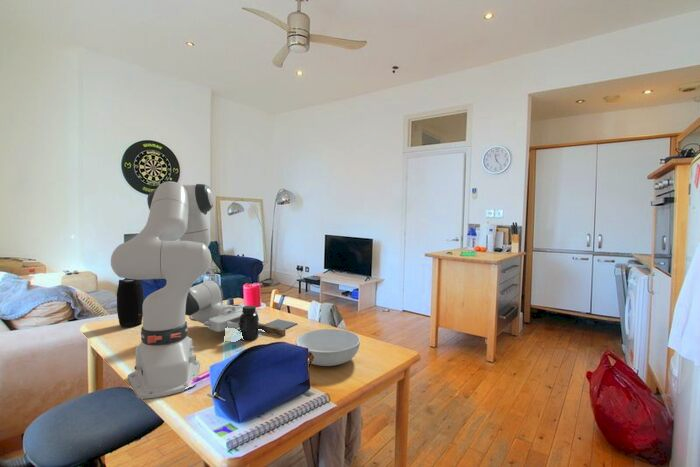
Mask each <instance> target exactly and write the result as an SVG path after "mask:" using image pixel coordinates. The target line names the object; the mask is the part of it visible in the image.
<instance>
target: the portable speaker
mask: <svg viewBox="0 0 700 467" xmlns="http://www.w3.org/2000/svg"><path fill="white" fill-rule="evenodd" d="M117 285H118V286H117V290H116V311H117V319H118V323H119V326H122V328H123V329H127V328H134V327H135V325H143V302H144V300H145V298H144V288H143V283H142V280H136V279H128V278H122V279H119V280H118V284H117Z"/></svg>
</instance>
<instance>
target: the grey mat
mask: <svg viewBox="0 0 700 467" xmlns="http://www.w3.org/2000/svg"><path fill="white" fill-rule="evenodd" d="M264 324H265V325H269V326H273V327H278V328H282V329H285V331H286V330H288V329H290V328H293V327H295V326H298V323H297V322H294V321H290V320H284V319H279V318H277V319H275V320H272V321H270V322H268V323H264Z"/></svg>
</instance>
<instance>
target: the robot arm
mask: <svg viewBox="0 0 700 467" xmlns="http://www.w3.org/2000/svg"><path fill="white" fill-rule="evenodd" d="M146 200H147V202H146V203H147V206H148V209H149V212H148V217H147V221H146V223H145V225H144V227H143V229H142V230H141V231H139V233H137V235H136V236H134V237H133V238H131V239H129V240H127V241H126V242H123V243H121V244H118V245H117V247H116V248H114V250H113V251H112V253H111V257H110V267H111V269H112V271H113V273H114V274H115V275H116V276H117V277H119V278H122V279H126V278H128V279H136V280H141V281H142V280H161V279H163V280H166V283H165V285H164V286H163V287H161V288H159V289H157V290H155V291H153V292H152V293H150V294H148V295H147V296H146V297H145V298H144V302H143V317H142V327H141V328H140V338H141V342H140V344H138V346H137V347H135V365H134V371H133V372H131V373H129V374H128V375H127V380H128V382H129V385H130V387H131V389H132V390H133V392H134V394H135V396H136V398H137V399H139V400H140V399H142V400H143V399H154V398H155V399H156V398H159V397H160V398H161V397H165V396H169V395H174V394H177V393H181V392H184V390H185V388H186V387H188V386H189V385H188V383H189V382H190V381H191V380H193V379H194V378H196V377H198V378H199V374H200V368H201V367H200V366H201V362H200V360H197V354H196V353H195V354H194V353H193V352H195V346H194V345H193V338H191V337H189V336H188V330H189V329H188V328H189V327H188V322H187V321H186V316H189V317H190V316H191V317H192V319H194V320H195V321H196V322H199V323H201V324H203V326H205V327H207V328H208V329H209V330H210V331H211V330H212V331H214V332H223V331H226V330H225V328H227V327H228V328H229V329H238V328H239V329H240V316H241V314H243V312H242V311H243V307H244V306H243V304H233V305H231V304H230V305H228V304H225V305H224V304H223V303H224V302H223V300H224V291H223V288H222V286H221V285H220V284H219V283H218V282H217V281H216V280H212V279H209V280H207V281H206V280H205V281H203V282H201V283H198V284H196V285H194V283H195V282H196V281H197V280H198V279H199V278H200V277H202V276H203V275H204V274H206V272H207V271H208V270H209V268H210V267H211V264H212V254H211V250H210V249H209V246H210V245H211V241H212V240H211V233H210V227H209V222H208V219H207V216H206V215H207V214H208V212H210V211H211V210H212V209H213V207H214V202H215V201H214V200H215V198H214V194H213V192H212V190H211V188H210V187H209V186H208V185H207V184H204V183H196V184H181V183H179V182H176V181H171V180H170V181H169V180H168V181H165V182H162V183H160V184H159V185H158V186H157V188H155V189H153V190H151V191H150V192H149V193H148V195H147V198H146ZM193 285H194V286H193ZM255 313H257V314H258V315H259V313H258V310H257V309H256V312H255ZM258 322H260V317H259V316H258ZM185 391H186V390H185Z"/></svg>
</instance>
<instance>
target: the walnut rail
mask: <svg viewBox="0 0 700 467" xmlns="http://www.w3.org/2000/svg"><path fill="white" fill-rule="evenodd" d="M265 324H266V323H264V324H263V323H259V322H258V329H262V330H264V331H265V332H266V334H271V335H274V336H278V337H283V338H284V337H285V336H286V330H285V329H282V328H278V327H273V326H269V325H265ZM265 332H264V333H265Z"/></svg>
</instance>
